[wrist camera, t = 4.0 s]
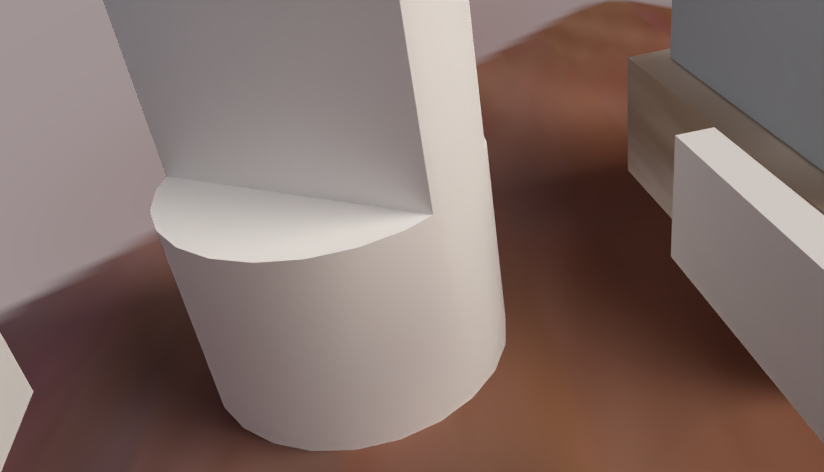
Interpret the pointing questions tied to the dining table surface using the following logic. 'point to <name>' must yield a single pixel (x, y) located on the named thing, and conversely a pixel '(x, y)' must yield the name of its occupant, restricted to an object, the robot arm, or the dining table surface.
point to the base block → (696, 110)
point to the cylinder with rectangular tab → (324, 207)
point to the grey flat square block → (760, 62)
